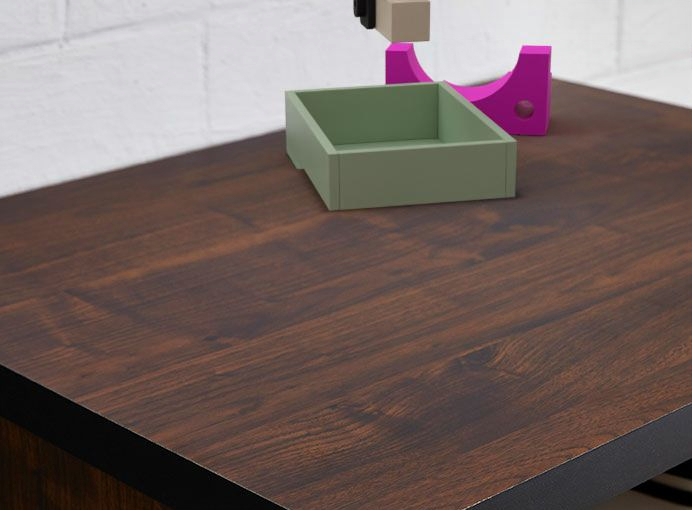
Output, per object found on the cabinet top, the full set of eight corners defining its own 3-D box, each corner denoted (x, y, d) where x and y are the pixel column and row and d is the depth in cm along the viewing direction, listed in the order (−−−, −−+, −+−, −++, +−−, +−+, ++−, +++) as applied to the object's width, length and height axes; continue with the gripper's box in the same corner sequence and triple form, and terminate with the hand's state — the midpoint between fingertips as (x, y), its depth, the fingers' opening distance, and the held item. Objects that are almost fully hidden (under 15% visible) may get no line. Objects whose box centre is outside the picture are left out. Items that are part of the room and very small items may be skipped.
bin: (443, 141, 127) (444, 80, 125) (514, 211, 107) (517, 141, 105) (286, 152, 125) (284, 90, 122) (329, 225, 105) (328, 154, 103)
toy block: (549, 119, 134) (553, 40, 131) (545, 135, 128) (549, 54, 125) (396, 114, 137) (396, 37, 134) (385, 130, 131) (385, 50, 128)
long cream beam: (354, 11, 117) (354, -25, 116) (389, 10, 117) (389, -27, 116) (391, 43, 104) (391, 2, 103) (429, 41, 105) (430, 0, 104)
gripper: (483, -227, 108) (475, 13, 115) (276, -224, 105) (282, 21, 113) (512, -226, 101) (502, 29, 109) (291, -222, 99) (296, 39, 106)
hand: (390, 23), depth 111 cm, fingers closed on long cream beam, 3 cm apart
